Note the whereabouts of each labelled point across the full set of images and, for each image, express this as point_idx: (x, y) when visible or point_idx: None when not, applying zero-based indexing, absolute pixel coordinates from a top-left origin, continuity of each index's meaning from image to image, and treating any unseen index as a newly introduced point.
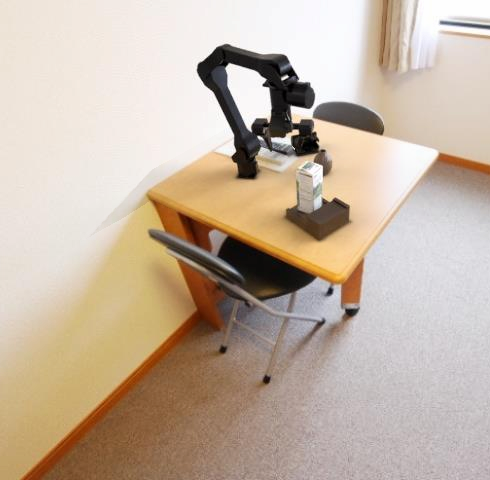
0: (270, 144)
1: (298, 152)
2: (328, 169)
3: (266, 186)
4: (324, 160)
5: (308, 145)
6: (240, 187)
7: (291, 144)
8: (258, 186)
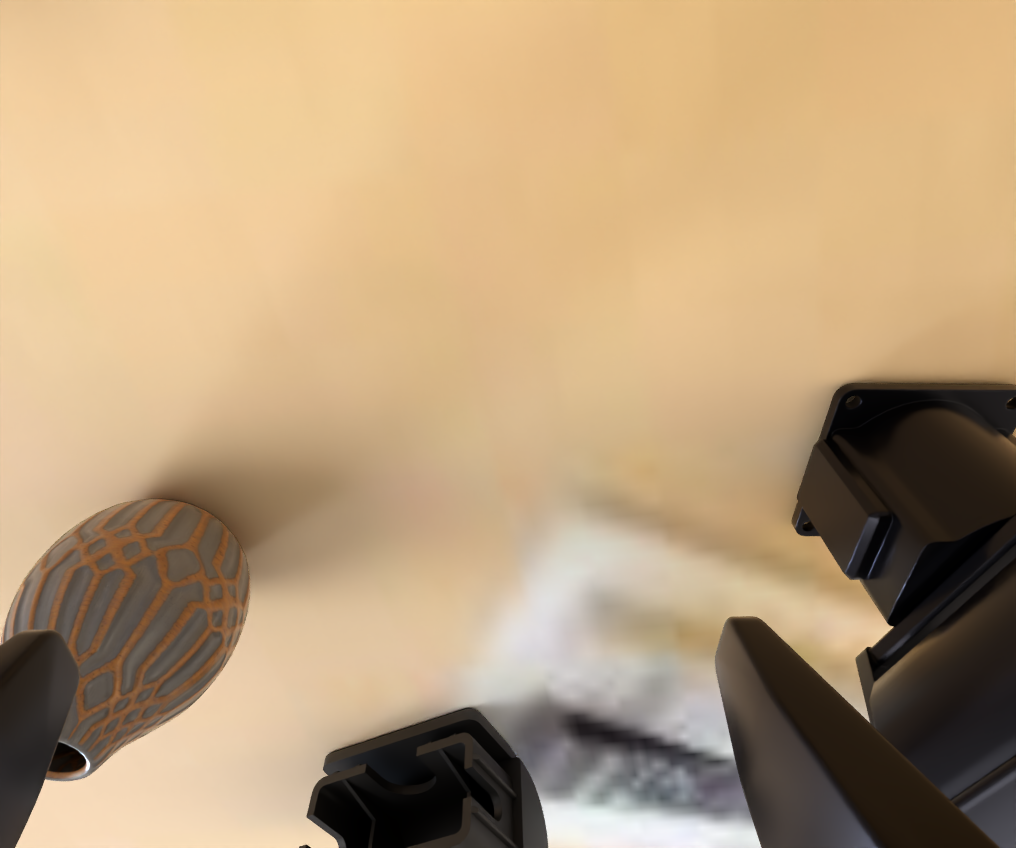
0: (814, 822)
1: (41, 638)
2: (54, 544)
3: (697, 262)
4: (33, 629)
5: (408, 808)
6: (1008, 210)
7: (540, 809)
8: (791, 252)
